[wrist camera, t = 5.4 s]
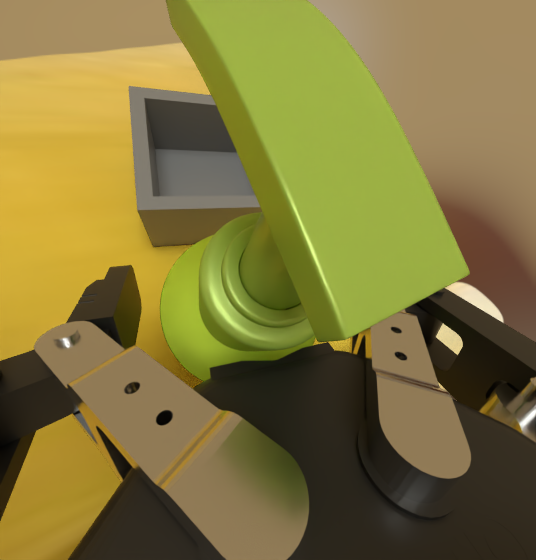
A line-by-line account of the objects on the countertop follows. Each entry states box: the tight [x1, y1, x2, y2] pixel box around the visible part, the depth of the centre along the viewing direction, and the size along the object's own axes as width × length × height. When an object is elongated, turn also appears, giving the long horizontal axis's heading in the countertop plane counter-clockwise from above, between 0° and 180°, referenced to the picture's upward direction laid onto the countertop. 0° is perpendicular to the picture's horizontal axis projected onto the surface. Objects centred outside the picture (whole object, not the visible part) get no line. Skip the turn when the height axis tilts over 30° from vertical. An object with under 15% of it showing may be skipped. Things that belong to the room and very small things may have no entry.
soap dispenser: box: [160, 0, 469, 381], centre depth 12 cm, size 6×7×20 cm
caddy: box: [129, 86, 262, 247], centre depth 23 cm, size 21×10×6 cm, turn 101°
